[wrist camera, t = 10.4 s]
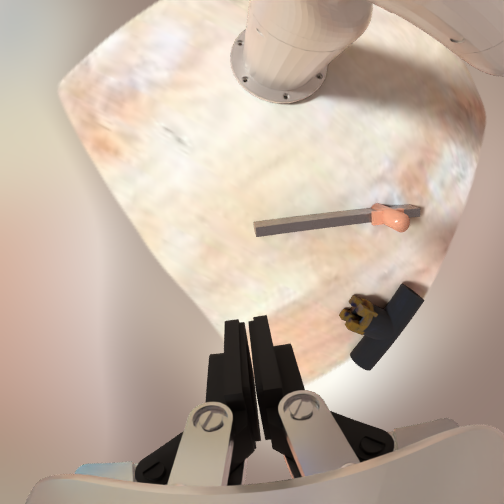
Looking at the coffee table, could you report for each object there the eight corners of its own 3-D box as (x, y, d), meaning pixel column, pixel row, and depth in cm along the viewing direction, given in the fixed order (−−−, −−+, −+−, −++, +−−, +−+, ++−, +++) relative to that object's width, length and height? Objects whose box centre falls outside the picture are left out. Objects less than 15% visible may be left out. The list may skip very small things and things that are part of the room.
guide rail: (252, 217, 37) (257, 231, 30) (409, 200, 37) (436, 209, 31) (255, 235, 38) (260, 252, 31) (409, 215, 38) (436, 227, 32)
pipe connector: (327, 358, 39) (387, 277, 36) (318, 338, 44) (370, 263, 41) (375, 373, 42) (429, 304, 38) (364, 355, 47) (412, 290, 43)
